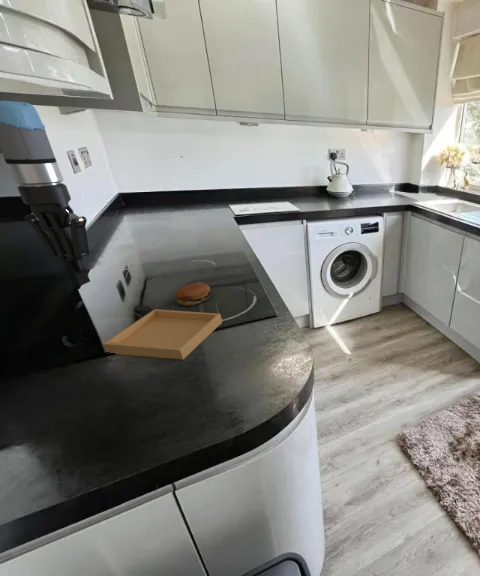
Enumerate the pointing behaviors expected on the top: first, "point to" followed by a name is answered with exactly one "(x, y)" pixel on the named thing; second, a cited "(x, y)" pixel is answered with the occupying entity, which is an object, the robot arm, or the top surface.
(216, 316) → the tray
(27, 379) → the top surface
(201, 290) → the burger
